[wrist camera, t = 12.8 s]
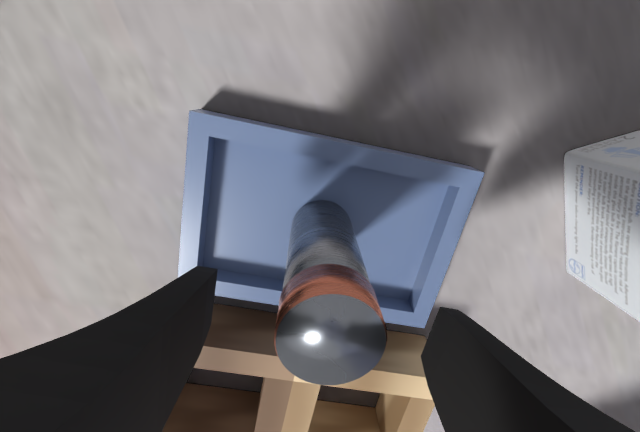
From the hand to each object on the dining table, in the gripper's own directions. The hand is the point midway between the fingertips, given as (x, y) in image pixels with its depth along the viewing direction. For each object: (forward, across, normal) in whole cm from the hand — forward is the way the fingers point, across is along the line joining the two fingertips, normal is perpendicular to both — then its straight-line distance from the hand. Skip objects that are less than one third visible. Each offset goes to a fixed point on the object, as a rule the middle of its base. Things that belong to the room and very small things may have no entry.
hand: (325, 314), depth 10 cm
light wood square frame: (+6, -3, +8) cm, 11 cm away
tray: (+6, 0, -1) cm, 6 cm away
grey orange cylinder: (+6, 0, -1) cm, 6 cm away
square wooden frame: (+6, +4, +8) cm, 11 cm away
